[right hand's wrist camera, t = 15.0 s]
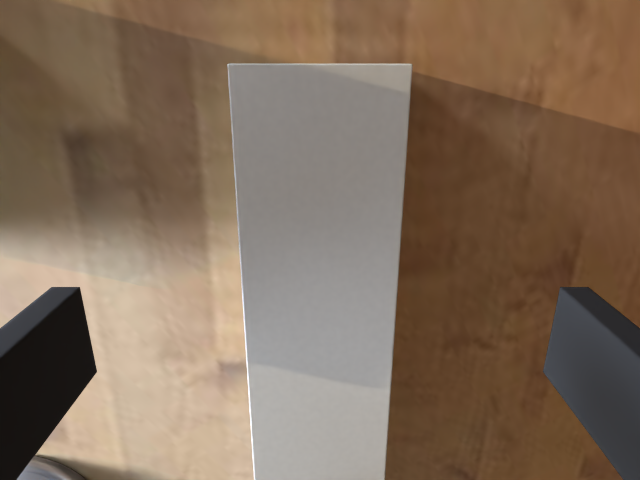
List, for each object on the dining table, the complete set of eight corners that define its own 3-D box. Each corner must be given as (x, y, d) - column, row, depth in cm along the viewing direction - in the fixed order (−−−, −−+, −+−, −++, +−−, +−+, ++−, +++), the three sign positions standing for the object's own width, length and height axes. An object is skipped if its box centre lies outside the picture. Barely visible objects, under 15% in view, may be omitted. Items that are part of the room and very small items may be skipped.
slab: (246, 65, 31) (227, 63, 25) (393, 65, 31) (412, 63, 25) (275, 631, 52) (269, 713, 46) (363, 631, 52) (369, 713, 46)
